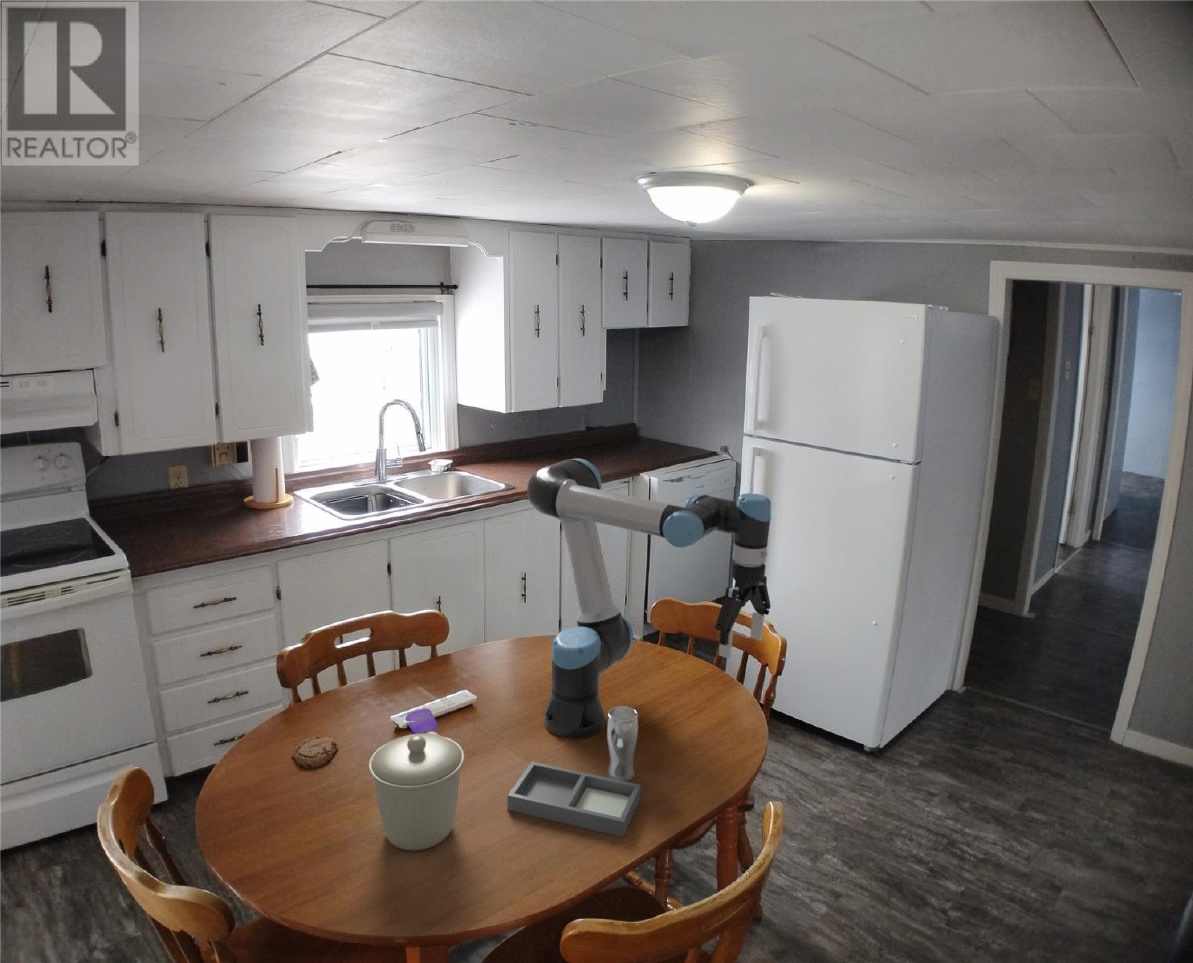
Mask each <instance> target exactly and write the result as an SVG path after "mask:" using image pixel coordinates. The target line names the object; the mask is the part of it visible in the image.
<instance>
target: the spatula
mask: <svg viewBox="0 0 1193 963" xmlns="http://www.w3.org/2000/svg"><path fill="white" fill-rule="evenodd" d="M406 721H409V724H408V723H407V725H408V727H409V729H410V730H411V732H412V734H423V733H425V732H426V733H425V734H435V735H439V734H438V733H437V732H435V731H433V730H436V729H438V728H439V725H438V723H437V721H436V719H435V716H434V714H433V713H432V711H431V709H430V708H428V707H427V708H421V709H416V710H413V711H411V712H409V713H408V714H407V715H406V717H405V722H406ZM410 721H415V722H410Z"/></svg>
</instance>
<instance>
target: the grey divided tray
mask: <svg viewBox="0 0 1193 963" xmlns="http://www.w3.org/2000/svg"><path fill="white" fill-rule="evenodd" d="M640 800H641V784H639V783H633V782H630V781H621V780H616V779H611V778H610V777H608V776H607V777H606V776H603V775H602V776H601V775H597V774H592V773H588V772H582V771H577V770H574V769H568V768H564V767H560V766H554V765H550V764H544V763H541V762H535V761H531V762H530V763H529V764H528V766H527V768H525V770H524V771H523V773H522V774H521V776H520V777H519V779H518V780H517V782H516V783H515V784H514V786H513V787H512V788H511V790H510V791H509V793H508V794H507V811H511V812H514V813H518V814H522V815H527V816H531V817H535V818H540V819H544V820H548V821H552V822H557V823H561V824H565V825H569V826H574V827H578V828H583V829H587V830H592V831H594V832H595V831H596V832H599V833H603V834H609V835H611V836H616V837H621V838H624V837H625V834H626V831H627V830H628V827H629V825H630V823H631V820H632V818H633V817H634V816H633V815H634V813H635V812H636V809H637V807H638V805H639V802H640Z"/></svg>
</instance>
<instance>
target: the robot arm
mask: <svg viewBox="0 0 1193 963" xmlns="http://www.w3.org/2000/svg"><path fill="white" fill-rule="evenodd" d="M526 492H527V498H528V500H529V502H530V505H531V506H532V507H533V508H534V509H535V510H536V511H538V512H539V513H541V514H543V515H546V516H549V517H552V518H555V519H557V520H558V521H559V522H560V523H561V526H562V531H563V535H564V539H565V544H566V549H567V553H568V559H569V562H570V568H571V573H572V578H573V581H574V586H575V591H576V595H577V601H578V605H579V609H580V612H579V613H578V615H577V617H576V623H577V626H573V628H570V627H568V628H565V629H563V630H561V631H560V632H559V633H557V634H556V636H555V637H554V638H553V641H552V649H551V695H550V697H549V699H548V703H547V705H546V708H545V711H544V714H543V716H544V721H543V723H544V726H545V728H546V729H547V730H548V732H550V733H551V734H553V735H556V736H558V737H561V738H562V737H563V738H566V739H582V738H588V737H591V736H594V735H596V734H598V733H599V732H601V731H602V730H603V729H604V726H605V720H606V713H605V710H604V707H603V705H602V701H601V699H600V694H599V691H600V690H599V689H600V688H599V685H600V675H601V674H602V673H603V672H605V671H606V670H607V669H609V668H610V667H612V666H613V665H614V664H615V663H617V662H620V661H621V660H622V659H623V658H624V657H625V656H626V655H627V654H628V652H630V651H631V648H632V647H633V643H634V638H635V637H634V630H633V627H632V626H633V625H632V624H631V623H630V621H629V620H627V619H626V616H624V615H623V614H622V612H621V609H620V607H617V606H616V605H614V603H613V598H612V593H611V589H610V584H609V583H610V582H609V578H608V575H607V570H606V565H605V559H604V555H603V550H602V546H601V541H600V536H599V531H598V528H597V527H598V526H597V523H599V524H601V525H602V524H603V525H607V526H612V527H615V528H620V529H625V530H627V531H629V530H630V531H633V532H638V533H642V534H646V535H649V536H655V537H659V538H664V539H665V540H666V541H667V543H669V544H670V545H672V546H673V547H675V548H686V547H688V546H689V547H690V546H692V545H694V544H696V543H698V542H699V541H700V540H702V539H703V538H705V537H706V536H708V535H710V534H711V533H713V532H715V531H716V532H721V533H726V534H732V535H733V537H734V538H733V548H732V549H733V550H732V561H731V572H730V575H731V577H732V579H733V580H734V586H733V587H730V586H726V589H725V594H724V599H723V601H722V604H721V608H720V611H719V614H718V617H717V619H716V622H715V625H714V629H715V630H717V631H720V637H719V646H718V647H719V648H718V656H720V657H723V658H725V659H728V660H729V659H731V656H732V646H733V645H732V644H733V635H734V633H733V630H732V629H733V627H734V625H735V623H736V621H737V618H738V616H739V614H740V612H741V610H742V609H743V608H744V607H745V606H746V604H747V603H748V602H749V601H750V603H751V605H752V607H753V609H754V611H753V612H752V615H751V616H752V617H751V625H750V626H751V628H750V636H749V638H750V639H754V640H755V641H759V642H761V641H762V640H763V631H764V622H765V620H764V619H765V615H766V616H768V615H769V613H770V609H771V601H770V596H769V591H768V586H767V576H765V574H766V564H765V563H766V562H767V556H768V552H767V551H768V542H769V534H770V525H771V520H772V516H771V512H772V502H771V500H770V498H769V497H767V496H765V495H764V494H759V493H749V492H748V493H742V494H740V495H739V496H738V497H737V500H731V499H728V498H727V499H725V498H721V497H717V496H711V495H708V494H698V493H696V494H695V493H693V494H691V495H690V496H689V497H688V499H687V500H686V502H685V504H684V506H679V505H675V504H670V503H665V502H659V501H654V500H650V499H647V498H646V499H645V498H642V497H636V496H631V495H627V494H622V493H618V492H612V491H607V490H603V489H602V478H601V474H600V472H599V470H598V469H597V467H596V466H595V465H593V463H591V462H590V461H588V460H586V459H583V458H572V459H571V458H570V459H566V460H563V461H559V462H557V463H554V464H551V465H547V466H544V467H542V468H538V470H536V471H535V472H534V473H533V474H532V475H531V477H530V479H529V480H528V483H527V488H526Z"/></svg>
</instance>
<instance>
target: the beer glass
mask: <svg viewBox="0 0 1193 963" xmlns="http://www.w3.org/2000/svg"><path fill="white" fill-rule="evenodd" d="M607 712H608V713H607V722H606V742H607V748H608V749H607V750H608V755H609V757H608V758H609V760H608V761H609V762H608V767H607V772H606V775H607V777H608V778H611V779H616V780H621V781H625V782H629V781H630V780H632V778H634V776H635V769H634V755H635V752H636V751H635V750H636V747H637V742H638V741H637V740H638V737H639V736H638V735H639V734H638V733H639V732H638V731H639V718H638V716H639V715H638V711H637V710H636V709H635V708H633V707H630V706H626V705H619V706H617V705H616V706H614V707H612V708H610V709H609V710H608V711H607Z"/></svg>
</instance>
